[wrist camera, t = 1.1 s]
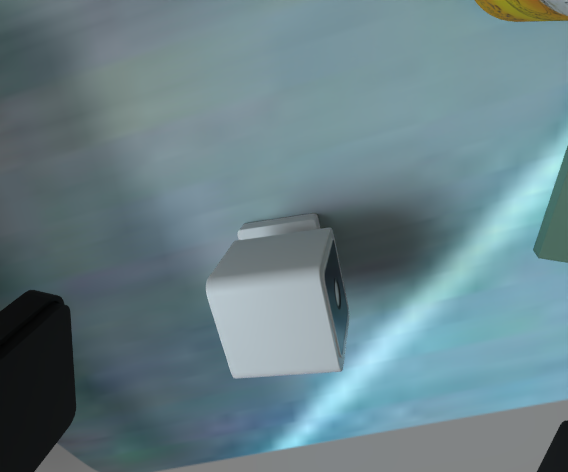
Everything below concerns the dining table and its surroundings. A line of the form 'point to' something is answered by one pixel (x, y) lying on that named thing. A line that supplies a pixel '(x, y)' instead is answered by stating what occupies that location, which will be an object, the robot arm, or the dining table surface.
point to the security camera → (281, 299)
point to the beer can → (526, 9)
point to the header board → (555, 221)
